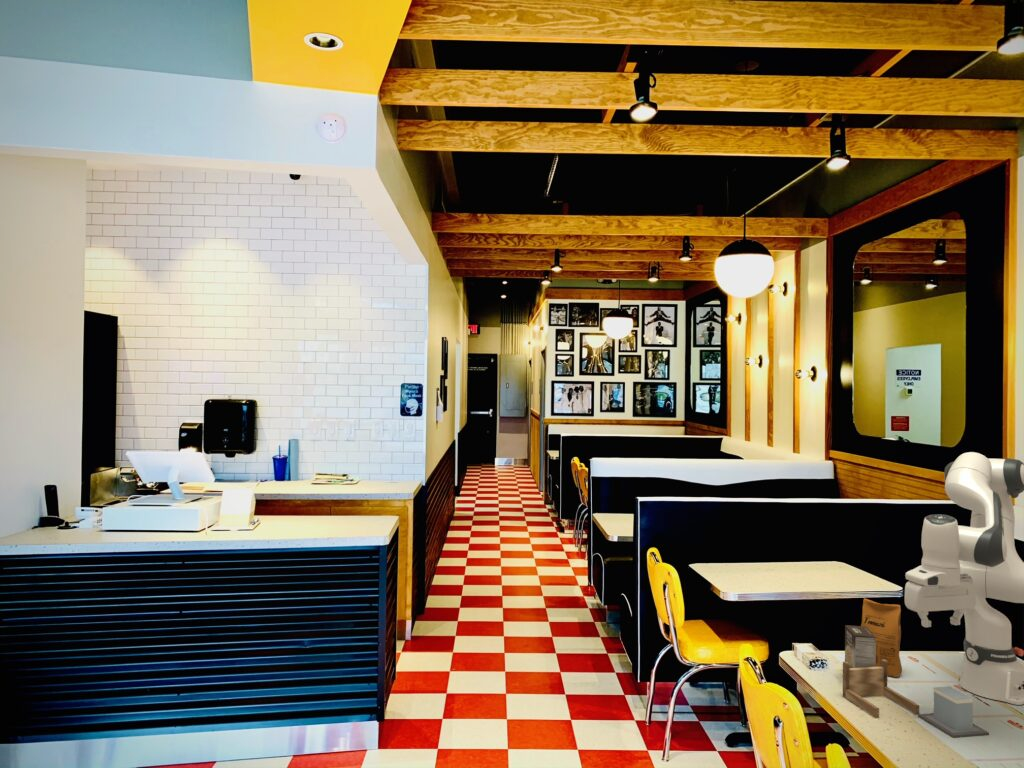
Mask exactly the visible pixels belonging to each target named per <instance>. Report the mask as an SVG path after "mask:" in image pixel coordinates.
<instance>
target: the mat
mask: <svg viewBox="0 0 1024 768" xmlns="http://www.w3.org/2000/svg"><path fill="white" fill-rule="evenodd" d="M917 717H918V718H920V719H922V720H923V721H924V722H926V723H928V724H929V725H930V726H933V727H934V728H935V729H936V728H937V729H938V730H939V731H941V732H943V733H945V734H946V735H948V736H950V737H951V738H953V739H955V738H966V737H968V738H969V737H977V736H978V737H981V736H988V735H990V732H989V731H988V730H986V729H984V728H983V727H980V726H978V725H976V724H975V723H973V729H968V730H955V729H953V728H952V727H950V726H948V725H946V724H945V723H943V722H941V721H940V720H938V719H936V718H934V712H931V713H919V714H918V715H917Z"/></svg>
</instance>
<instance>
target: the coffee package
mask: <svg viewBox="0 0 1024 768" xmlns="http://www.w3.org/2000/svg"><path fill="white" fill-rule="evenodd" d="M901 612H902V609H901V604H889V603H880V602H879V603H878V602H876V601H873V600H870V599H868V598H863V603H862V613H861V614H862V615H861V624H860V626H863V627H867V628H868V629H869V630H870V631H871V632H872V634H873V635H874V636H875V637H876V667H880V666H881V660H883V659H884V660H886V661H887V677H891V678H892V677H894V678H898V677H900V675H901V674H902V672H903V667H902V662H901V657H900V650H901V647H900V645H901V638H902V628H901V627H902V626H901V618H902V617H901Z"/></svg>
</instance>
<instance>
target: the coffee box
mask: <svg viewBox="0 0 1024 768" xmlns="http://www.w3.org/2000/svg"><path fill="white" fill-rule="evenodd" d="M844 662H848V663H849V668H863V667H876V637H875V636H874V635H873V634H872V632H871V631H870V630H869V629H868V628H867V627H863V626H861V625H849V624H847V625H844Z"/></svg>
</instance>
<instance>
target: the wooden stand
mask: <svg viewBox="0 0 1024 768" xmlns="http://www.w3.org/2000/svg"><path fill="white" fill-rule="evenodd" d="M882 696H883V697H885V698H886V699H888V700H890V701H892V702H894V703H896V704H897V705H898V706H900V707H902V708H904V709H905V710H907V711H909V712H910V713H912V714H913V715H915V716H916V715H917V716H918V714H920V705H919V704H918V703H916V702H915V701H914V700H913V701H912V700H911V699H909V698H907V697H906V696H904V695H902V694H901V693H899V692H897V691H895V690H894V689H892V688H890V687H889V686H888V676H887V661H886V660H884V659H883V660H881V666H880V667H863V668H849V663H848V662H845V661H843V662H842V697H843V698H845V699H846V700H848V701H849V702H851V703H853V704H854V705H855V706H857V707H858V708H860V709H861V710H863V711H864V712H865V713H867V714H869V715H870V716H872V717H873V718H875V719H877V718H880V707H878V706H876V705H875V704H873V703H872V702H870V701H868V700H867V699H866V698H870V697H882Z"/></svg>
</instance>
